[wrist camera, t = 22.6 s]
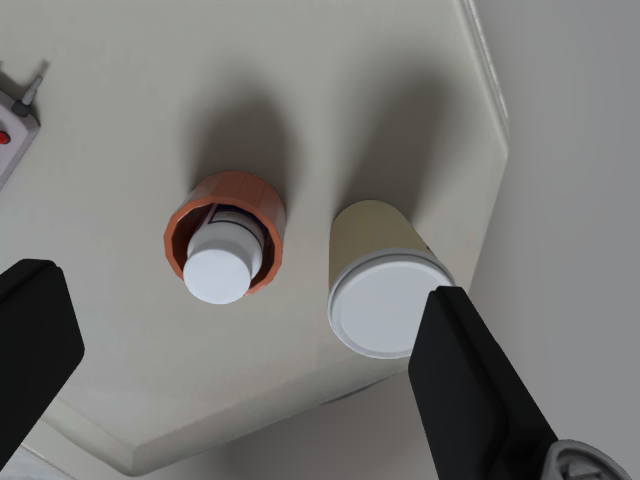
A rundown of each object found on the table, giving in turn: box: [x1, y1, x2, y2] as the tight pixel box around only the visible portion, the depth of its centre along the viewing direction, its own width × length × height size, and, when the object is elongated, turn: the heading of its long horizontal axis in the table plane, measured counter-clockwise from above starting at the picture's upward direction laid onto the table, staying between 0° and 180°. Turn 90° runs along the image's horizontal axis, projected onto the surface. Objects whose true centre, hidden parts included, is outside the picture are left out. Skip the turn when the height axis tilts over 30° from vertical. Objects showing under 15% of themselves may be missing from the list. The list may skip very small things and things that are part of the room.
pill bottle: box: [183, 203, 268, 304], centre depth 30 cm, size 6×6×10 cm
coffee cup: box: [327, 200, 456, 359], centre depth 31 cm, size 9×9×12 cm
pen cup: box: [164, 170, 286, 296], centre depth 32 cm, size 9×9×6 cm
